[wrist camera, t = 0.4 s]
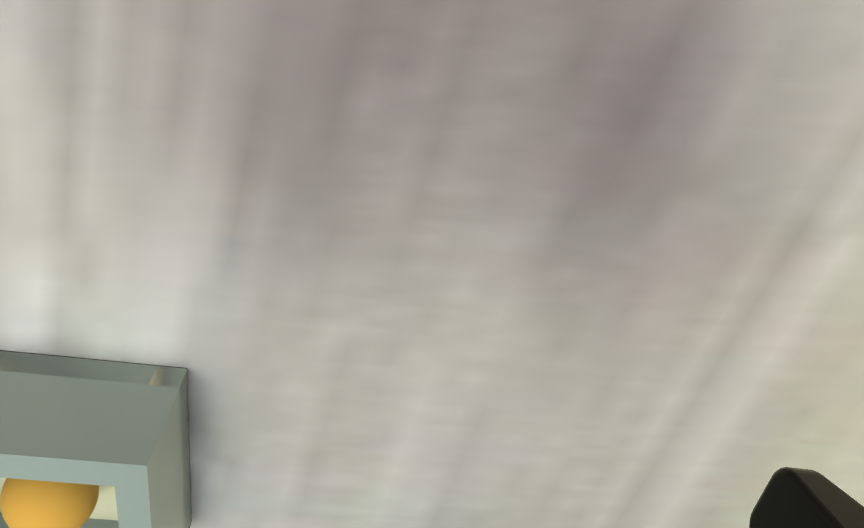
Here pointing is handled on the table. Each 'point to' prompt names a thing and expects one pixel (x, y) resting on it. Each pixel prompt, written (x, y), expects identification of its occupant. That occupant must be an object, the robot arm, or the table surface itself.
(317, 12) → the table surface
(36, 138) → the table surface
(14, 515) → the clementine
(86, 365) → the grey square box
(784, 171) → the table surface
